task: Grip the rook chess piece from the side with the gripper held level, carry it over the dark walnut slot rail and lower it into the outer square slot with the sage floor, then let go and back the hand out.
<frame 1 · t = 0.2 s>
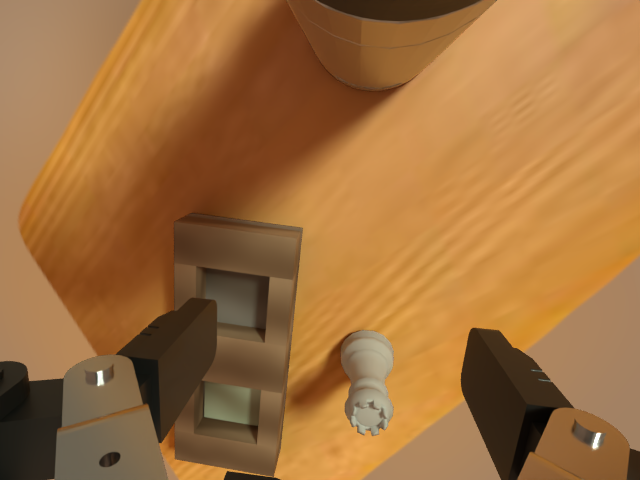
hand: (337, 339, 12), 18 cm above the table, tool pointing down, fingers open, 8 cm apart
slot rail: (240, 341, 33), on the table
rook chess piece: (366, 349, 32), on the table
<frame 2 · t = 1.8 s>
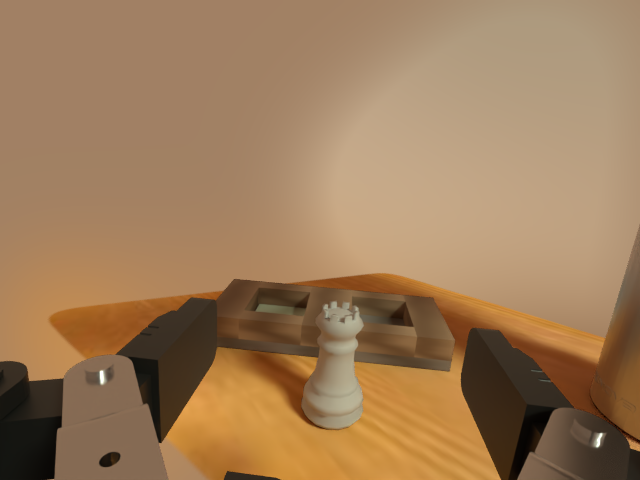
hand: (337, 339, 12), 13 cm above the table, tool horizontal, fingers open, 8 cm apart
slot rail: (327, 332, 38), on the table
rook chess piece: (331, 412, 27), on the table
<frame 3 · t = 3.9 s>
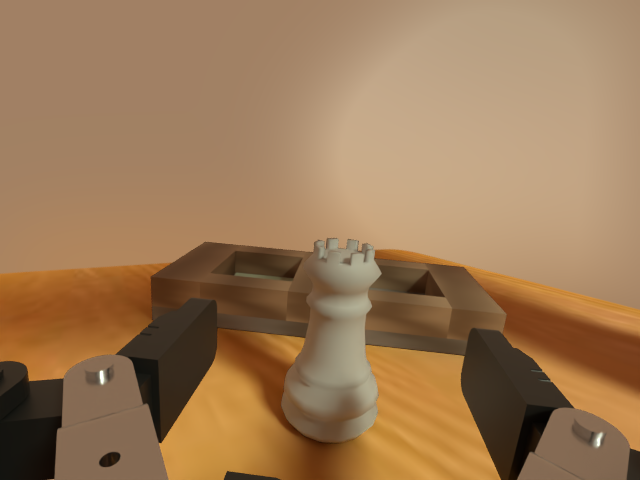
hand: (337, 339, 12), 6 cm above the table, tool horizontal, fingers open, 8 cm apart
slot rail: (324, 309, 28), on the table
rook chess piece: (328, 415, 17), on the table
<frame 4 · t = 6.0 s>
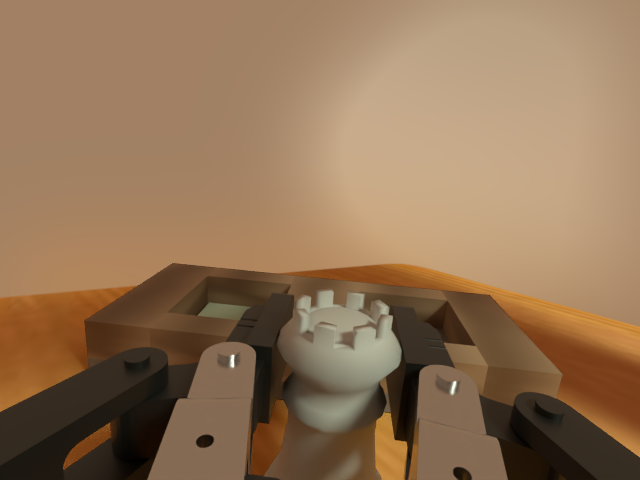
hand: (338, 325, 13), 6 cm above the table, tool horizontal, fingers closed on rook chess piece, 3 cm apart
slot rail: (317, 352, 22), on the table
when the fingers open (8 cm above the table, at t = 10.1 s): rook chess piece stays where it is, resting on slot rail.
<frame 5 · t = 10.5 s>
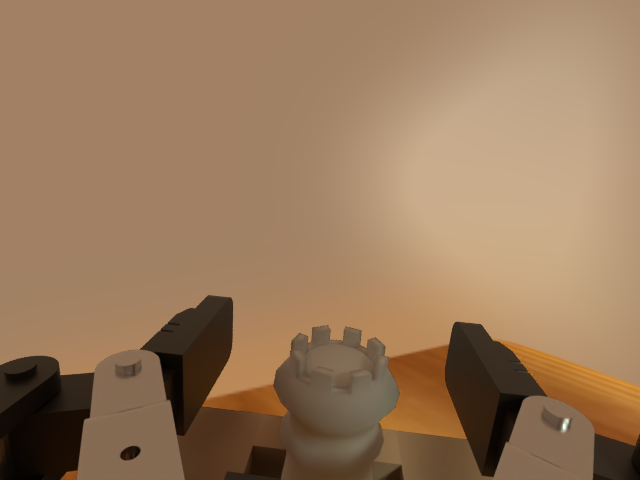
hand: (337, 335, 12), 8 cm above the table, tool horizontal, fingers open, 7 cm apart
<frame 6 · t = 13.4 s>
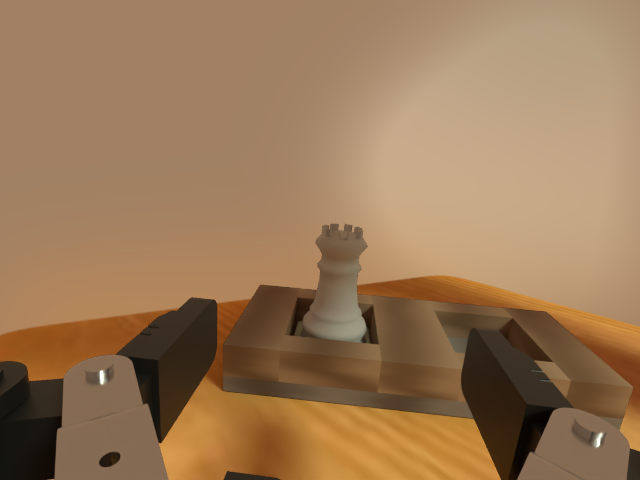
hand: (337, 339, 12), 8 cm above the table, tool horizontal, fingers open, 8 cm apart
slot rail: (403, 365, 25), on the table
rook chess piece: (332, 346, 25), point 1 cm above the table, touching slot rail
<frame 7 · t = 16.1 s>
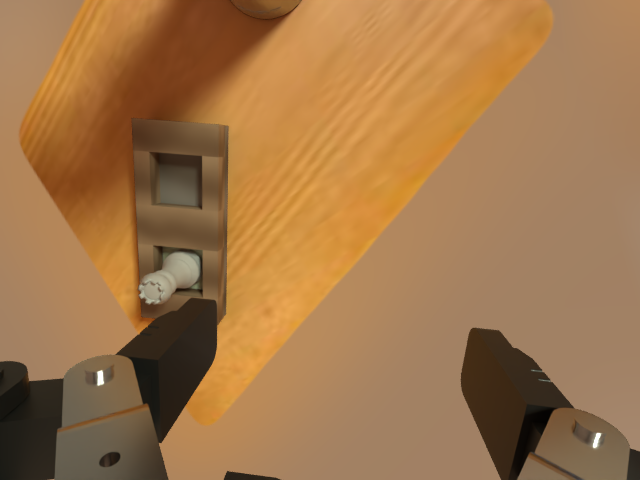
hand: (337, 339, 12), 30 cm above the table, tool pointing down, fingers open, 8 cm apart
slot rail: (188, 222, 43), on the table
rook chess piece: (187, 265, 43), point 1 cm above the table, touching slot rail
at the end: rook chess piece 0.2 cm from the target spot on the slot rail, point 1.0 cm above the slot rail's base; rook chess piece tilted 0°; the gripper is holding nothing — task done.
